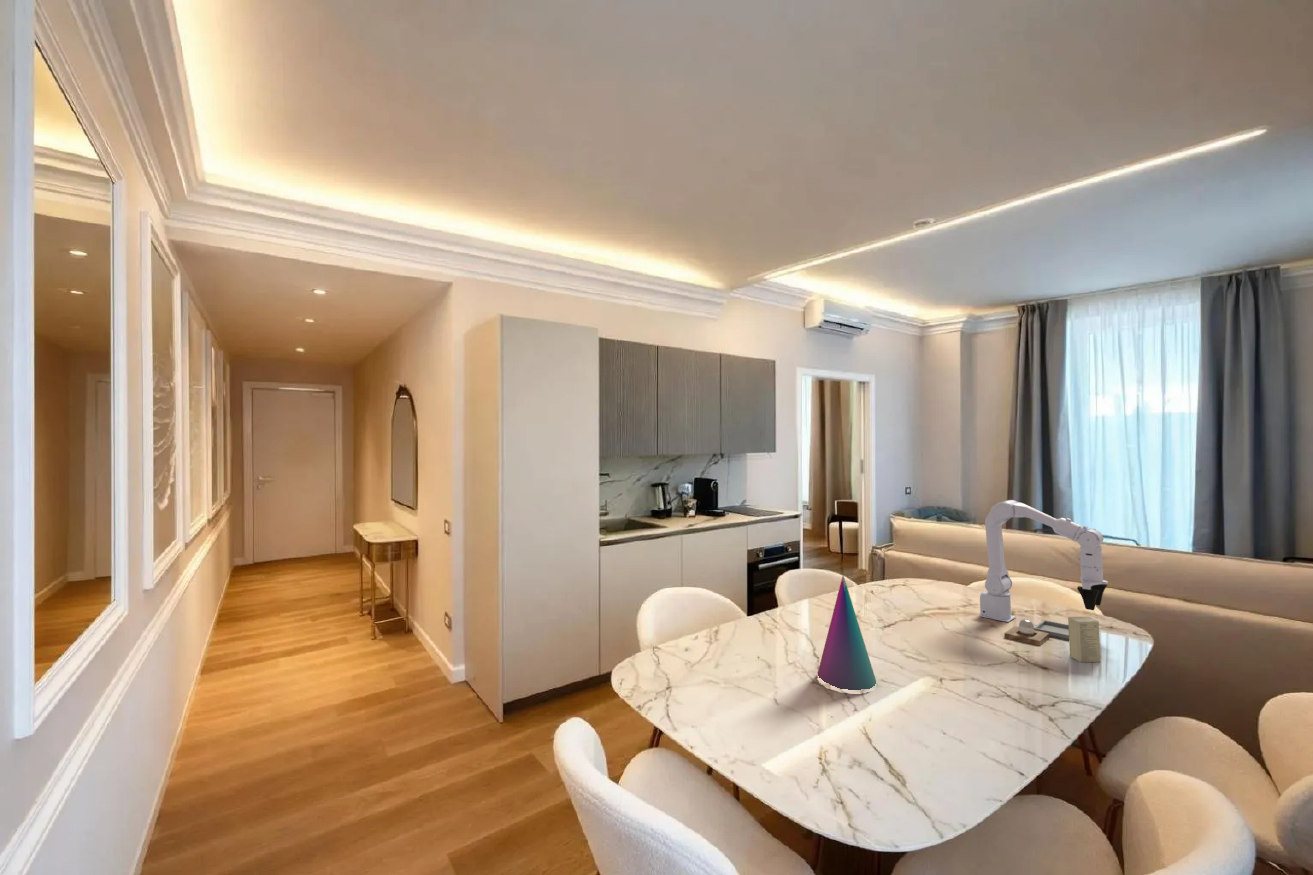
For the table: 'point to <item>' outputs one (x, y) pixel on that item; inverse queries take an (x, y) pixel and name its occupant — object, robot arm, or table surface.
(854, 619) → the decorative cone
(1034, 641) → the socket block
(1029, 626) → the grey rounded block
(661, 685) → the table surface
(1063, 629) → the tray
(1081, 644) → the skincare box
